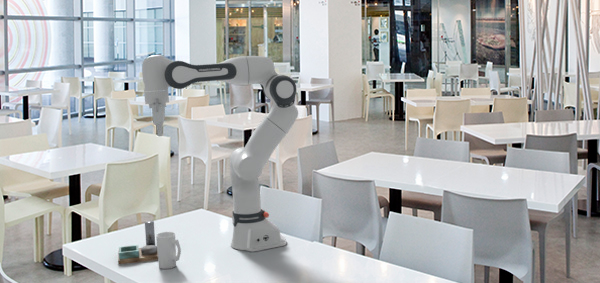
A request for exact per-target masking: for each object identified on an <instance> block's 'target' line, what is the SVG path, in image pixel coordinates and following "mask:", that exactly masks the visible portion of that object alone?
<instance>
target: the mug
mask: <svg viewBox="0 0 600 283" xmlns="http://www.w3.org/2000/svg"><path fill="white" fill-rule="evenodd" d="M155 240H156V246H157V251H158V260H157V261H158V262H157V263H158V267H159V269H162V270H169V269H173V268H174V267H176V266H177V261H180V257H181V254H182V248H181V244H180V242H179V239H177V238H176V232H173V231H162V232H160V233H157V234H156V235H155ZM176 250H177V251H176ZM176 252H177V253H176Z"/></svg>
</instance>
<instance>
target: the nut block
mask: <svg viewBox="0 0 600 283" xmlns="http://www.w3.org/2000/svg"><path fill="white" fill-rule="evenodd" d="M117 253H118V254H117V264H120V265H125V264H127V263H128V264H134V263H143V262H150V261H151V262H152V261H158V251H157V245H156V244H155V245H148V246H146V245H143V246H142V247H139V244H133V245H126V246H119V247H118V252H117ZM128 264H127V265H128Z"/></svg>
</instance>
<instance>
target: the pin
mask: <svg viewBox="0 0 600 283" xmlns="http://www.w3.org/2000/svg"><path fill="white" fill-rule="evenodd" d="M144 232H145V246H148V245H155V246H156V235H155V221H154V220H146V221H145V222H144Z"/></svg>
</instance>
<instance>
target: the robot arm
mask: <svg viewBox="0 0 600 283" xmlns="http://www.w3.org/2000/svg"><path fill="white" fill-rule="evenodd" d="M275 69H276V68H275V63H274V62H273V60H272V59H271V58H270V57H267V56H261V55H242V56H236V57H235V56H234V57H231V58H228V59H225V60H223V61H221V62H218V63H208V64H207V63H206V64H205V63H204V64H191V63H189V62H186V61H183V60H176V61H174V60H172V59H169V58H167V57H165V56H163V54H155V55H150V56H147V57H145V59H143V60H142V64H141V72H142V74H141V75H142V82H143V85H144V88H143V93H144V94H143V96H144V103H145V105H148V109H151V114H152V123H153V125H155V128H156V135H157V136H158V137H162V136H163V134H164V128H163V126H164V123H165V118H166V117H165V116H166V115H165V114H166V108H167V103H170V98H169V88H173V89H177V90H181V89H182V90H183V89H185V88H188V87H189V86H191V85H193V84H196V83H204V82H223V83H227V84H230V85H235V86H236V85H239V86H244V85H255V84H256V85H260V87H261V89H262V92H263V95H264V97H266V99H268V100H269V101H271V102H272V105H271V108H270V109H269V111H268V112H267V114H266V115H265V116H264V117H263V119H262V120H261V121H260V122H259V124H258V125H257V127H255V129H254V130H253V131H252V133H251V136H250V137H249V139H248V141H247V143H246V144H245V146H244V147H239V148H236V149H234V150H233V151H232V152H231V154H230V156H229V170H230V171H229V172H230V183H231V189H232V190H231V191H232V204H233V206H232V207H233V210H232V216H231V218H232V226H233V231H232V238H231V242H230V247H231V248H233V249H236V250H240V251H246V252H253V253H254V252H258V251H259V252H260V251H264V250H269V249H274V248H279V247H283V246H286V245H287V240H286V237H284V236H283V235H281V232H280V231H281V230H280V229H279V227H278V225H277V224H275V223H274V222H272V221H271V220H269V219H268V218H269V217H270V214H269V213H268V212H267V211H266V210H264V209H263V208H262V207H261V205H262V204H261V203H262V202H261V201H262V200H261V188H260V183H259V177H260V176H261V174H262V172H263V170H264V168H265V167H266V165H267V163H268V161H269V160H270V158H271V156H272V154H273V153H274V151H275V150H276V149H277V147H278V145H280V143H281V141H283V139H284V138H285V137H286V135H287V134H288V133H289V132H290V130H291V129H292V127H293V126H294V124H295V122H296V120H297V118H298V117H299V110H298V108H297V107H296V105H295V100H296V95H297V84H296V82H295V80H293V79H292V78H291V76H288V75H286V74H285V75H284V74H278V73H277V72H276V70H275Z"/></svg>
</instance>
